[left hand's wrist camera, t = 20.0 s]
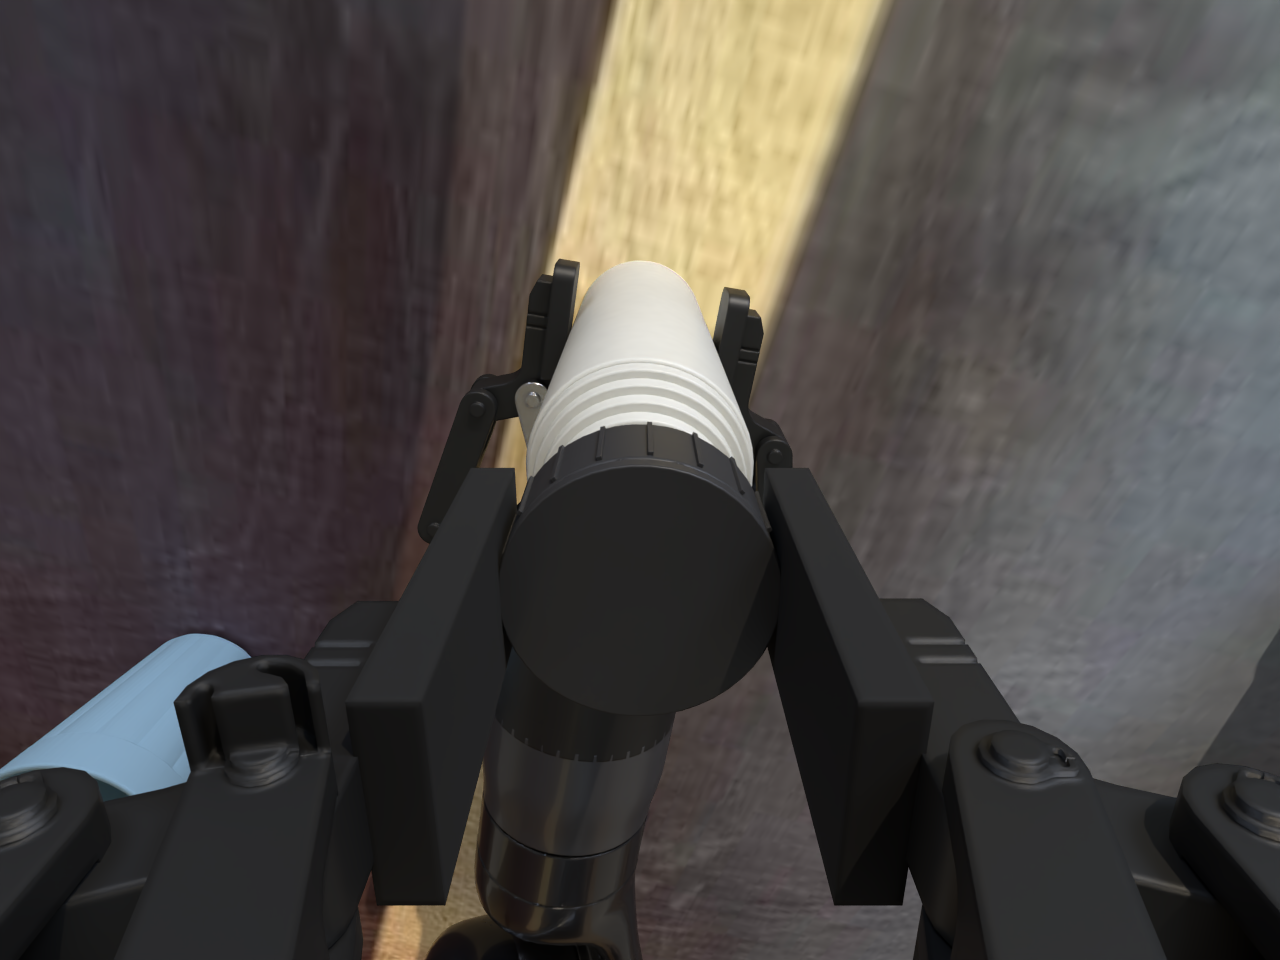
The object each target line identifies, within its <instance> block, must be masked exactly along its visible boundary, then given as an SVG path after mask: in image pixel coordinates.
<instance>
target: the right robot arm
mask: <svg viewBox="0 0 1280 960" xmlns="http://www.w3.org/2000/svg"><path fill="white" fill-rule="evenodd" d="M579 268H580V262H576V261H570V260H564V259H559V260H558V261H557V262H556V264H555V268H554V273H553V276H550V275H544V274H542V275H541V277H540V278H539V279H538V280H537V282H536V284H535V286H534V288H533V290H532V291H531V293H530V296H529V305H528V314H527V323H526V324H527V325H526V332H525V341H524V350H523V359H522V367H521V368H520V369H519V370H518V371H516V372H514V373H511V374H506V375H500V376H496V375H493V374H485V375H482V376H480V377H479V378H478V379H477V380H476V381H475V382H474V384H473V385H472V388H471V390H470V391H469V392H468V393H467V394H466V395H465V396H464V397H463V399H462V400H461V403H460V405H459V408H458V411H457V414H456V417H455V420H454V423H453V425H452V428H451V431H450V434H449V437H448V440H447V443H446V446H445V448H444V451H443V454H442V457H441V460H440V463H439V466H438V469H437V471H436V474H435V477H434V480H433V483H432V486H431V489H430V492H429V494H428V497H427V500H426V503H425V506H424V509H423V512H422V515H421V517H420V520H419V523H418V533H419V535H420V537H421V538H422V539H423V540H424V541H425V542H427V543H429V544H430V543H431V541H432V539H433V537H434V536H435V534H436V532H437V530H438V528H439V526H440V524H441V523H442V521H443V519H444V517H445V515H446V513H447V511H448V510H449V508H450V506H451V504H452V502H453V500H454V498H455V497H456V495H457V493H458V491H459V489H460V487H461V485H462V484H463V482H464V480H465V478H466V476H467V474H468V472H469V471H470V469H471V468H480V465H481V462H482V459H483V457H484V454H485V451H486V449H487V446H488V443H489V440H490V438H491V435H492V432H493V430H494V427H495V424H496V421H498V420H503V419H508V418H514V417H519V419H520V423H521V427H522V431H523V435H524V438H525V442H526V446H527V447H528V442H529V438H530V434H531V431H532V428H533V426H534V423H535V421H536V418H537V416H538V413H539V410H540V408H541V405H542V403H543V400H544V398H545V395H546V393H547V390H548V388H549V385H550V382H551V380H552V377H553V375H554V372H555V370H556V367H557V365H558V362H559V360H560V357H561V355H562V352H563V349H564V347H565V344H566V342H567V339H568V337H569V334H570V332H571V329H572V322H573V314H574V306H575V299H576V291H577V284H578V276H579ZM749 306H750V296H749V295H748V294H747V292H746V291H745V290H739V289H733V288H728V287H724V289H723V293H722V297H721V301H720V306H719V311H718V316H717V322H716V327H715V332H714V337H713V343H714V345H715V348H716V351H717V353H718V356H719V358H720V361H721V363H722V366H723V368H724V371H725V373H726V376H727V378H728V381H729V384H730V386H731V389H732V391H733V394H734V396H735V399H736V401H737V404H738V406H739V409H740V411H741V414H742V416H743V419H744V422H745V424H746V427H747V429H748V432H749V435H750V439H751V444H752V448H753V460H754V464H753V479H752V488H753V490H754V492H756V491H758V492H759V494H760V497H761V500H762V503H763V491H764V474H765V468H792V450H791V448H790V446H789V444H788V442H787V440H786V438H785V436H784V435H783V433H782V431H781V429H780V427H779V425H778V424H777V423H776V422H775V421H773V420H771V419H764V418H762V417H760V416H759V415H757V414H755V413H753V412H752V411H751V410H750V409H749V408H748V403H749V398H750V393H751V389H752V384H753V380H754V375H755V371H756V366H757V362H758V357H759V351H760V348H761V344H762V339H763V334H764V333H763V327H762V321H761V317H760V316H759V314H758V313H757V312H756V310H751V309H749ZM519 505H520V503H519V504H518V505H517V511H518V508H519ZM675 713H676V712H673V713H668V714H662V715H653V716H626V715H618V714H611V713H606V712H602V711H598V710H594V709H591V708H588V707H585V706H583V705H580V704H578V703H575V702H573V701H571V700H569V699H567V698H565V697H563V696H562V695H560V694H558V693H557V692H555V691H554V690H552V689H551V688H549V687H548V686H547V685H545V684H544V683H543V682H542V681H541V680H539V679H538V678H537V677H536V676H535V675H534V674H533V673H532V672H531V671H530V670H529V669H528V668H527V667H526V666H525V664H524V663H523V662H522V660H521V659H520V658H519V656H518V655H517V653H516V652H515V650H514V648H513V647H512V649H511V653H510V657H509V661H508V665H507V668H506V672H505V676H504V680H503V684H502V688H501V692H500V695H499V699H498V703H497V707H496V711H495V715H494V719H493V722H492V726H491V730H490V734H489V738H488V742H487V746H486V749H485V753H484V757H483V773H484V787H483V796H482V805H481V813H480V822H479V830H478V836H477V844H476V854H475V884H476V889H477V893H478V896H479V899H480V902H481V904H482V906H483V908H484V910H485V911H486V913H487V915H482V916H478V917H474V918H470V919H467V920H463V921H461V922H459V923H456V924H454V925H452V926H450V927H449V928H447V929H446V930H445V931H443V932H442V933H441V934H440V936H439V937H438V938H437V939H436V940H435V941H434V943H433V944H432V946H431V948H430V950H429V951H428V953H427V955H426V957H425V960H643V959H642V954H641V949H640V943H639V937H638V930H637V918H636V903H635V869H636V865H637V860H638V854H639V849H640V844H641V840H642V835H643V830H644V826H645V821H646V816H647V813H648V810H649V806H650V803H651V800H652V798H653V796H654V793H655V791H656V788H657V786H658V783H659V780H660V777H661V775H662V771H663V767H664V763H665V759H666V754H667V749H668V745H669V741H670V736H671V731H672V727H673V722H674V718H675Z"/></svg>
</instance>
